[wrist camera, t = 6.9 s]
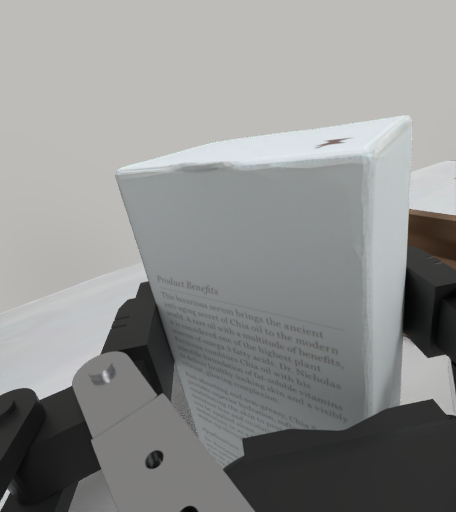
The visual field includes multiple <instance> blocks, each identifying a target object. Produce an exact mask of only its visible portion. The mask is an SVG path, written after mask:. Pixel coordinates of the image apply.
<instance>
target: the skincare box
mask: <svg viewBox="0 0 456 512" xmlns="http://www.w3.org/2000/svg"><path fill="white" fill-rule="evenodd" d="M411 153H412V120H411V118H410V117H409V116H408V115H404V116H398V117H391V118H385V119H378V120H371V121H365V122H358V123H352V124H345V125H339V126H332V127H325V128H318V129H312V130H302V131H293V132H284V133H277V134H269V135H261V136H254V137H247V138H241V139H233V140H226V141H220V142H213V143H209V144H205V145H201V146H197V147H194V148H191V149H187V150H184V151H180V152H176V153H173V154H169V155H166V156H162V157H159V158H155V159H151V160H147V161H144V162H140V163H136V164H132V165H129V166H126V167H123V168H121V169H119V170H117V172H116V175H115V176H116V180H117V183H118V186H119V190H120V192H121V196H122V199H123V202H124V205H125V208H126V211H127V214H128V217H129V221H130V224H131V227H132V230H133V233H134V236H135V240H136V243H137V245H138V249H139V252H140V255H141V258H142V261H143V264H144V268H145V271H146V274H147V277H148V280H149V283H150V287H151V290H152V293H153V296H154V299H155V302H156V305H157V308H158V311H159V315H160V318H161V321H162V324H163V327H164V331H165V334H166V337H167V340H168V343H169V346H170V350H171V353H172V356H173V359H174V362H175V365H176V368H177V372H178V375H179V378H180V381H181V384H182V388H183V391H184V394H185V397H186V400H187V403H188V406H189V409H190V412H191V416H192V419H193V422H194V425H195V429H196V432H197V435H198V438H199V440H200V441H201V442H202V443H203V445H204V446H205V447H206V449H207V450H208V451H209V453H210V454H211V455H212V456H213V458H214V459H215V460H216V462H217V463H218V464H219V466H220V467H221V468H222V469H223V468H224V467H226V466H227V465H228V464H230V463H231V462H233V461H234V460H236V459H238V458H240V457H242V456H244V450H243V443H242V438H247V437H252V436H257V435H262V434H267V433H271V432H276V431H281V430H286V429H308V430H337V431H338V430H345V429H348V428H350V427H352V426H353V425H355V424H357V423H359V422H361V421H363V420H365V419H367V418H369V417H371V416H373V415H375V414H377V413H379V412H381V411H383V410H385V409H387V408H392V407H397V406H400V390H401V367H402V344H403V325H404V302H405V279H406V261H407V239H408V218H409V187H410V173H411Z"/></svg>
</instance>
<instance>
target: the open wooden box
mask: <svg viewBox="0 0 456 512" xmlns="http://www.w3.org/2000/svg"><path fill="white" fill-rule="evenodd" d="M407 245H409V246H412V247H416V248H419V249H422V250H423V251H425V252H427V253H428V254H430V255H432V257H435V258H437V259H438V260H440V261H441V262H442V263H445V264H447V265H449V266H450V267H452V268H454V269H455V270H456V216H455V215H448V214H441V213H434V212H426V211H419V210H412V209H409V218H408V239H407ZM403 335H404V336H406V335H405V334H404V333H403Z"/></svg>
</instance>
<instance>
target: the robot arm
mask: <svg viewBox="0 0 456 512" xmlns="http://www.w3.org/2000/svg"><path fill="white" fill-rule="evenodd" d="M111 328H112V329H110V332H109V334H108V337H107V339H106V342H105V344H104V347H103V349H102V352H101V354H100V355H99V356H97V357H95V358H93V359H91V360H90V361H88V362H87V363H85V364H84V365H83V366H82V367H81V368H80V369H79V370H78V371H77V373H76V374H75V376H74V378H73V381H72V386H71V387H69V388H67V389H65V390H62V391H60V392H58V393H55V394H53V395H51V396H48V397H46V398H44V399H41V400H39V399H38V397H37V395H36V393H35V392H34V391H33V390H31V389H28V388H21V389H16V390H12V391H10V392H7V393H5V394H3V395H1V396H0V501H1V499H2V497H3V495H4V493H5V492H6V490H7V489H8V490H9V491H10V494H9V496H8V498H7V500H6V502H5V504H4V506H3V508H2V509H1V511H0V512H68V510H69V507H70V504H71V501H72V499H73V496H74V493H75V490H76V487H77V484H78V481H80V480H81V479H83V478H85V477H87V476H89V475H91V474H93V473H95V472H97V471H98V470H100V469H102V472H103V474H104V477H105V479H106V482H107V485H108V487H109V490H110V492H111V495H112V498H113V500H114V503H115V505H116V508H117V511H118V512H456V270H455V269H454V268H452V267H450V266H449V265H447V264H445V263H442V262H441V261H440V260H438V259H437V258H435V257H432V255H430V254H428V253H427V252H425V251H423V250H422V249H419V248H416V247H412V246H409V245H407V261H406V279H405V302H404V325H403V333H404V334H405V335H406V336H407V337H408V338H409V339H410V340H411V341H412V342H413V343H414V344H415V345H416V346H417V347H418V348H419V349H420V350H421V351H422V352H423V353H424V354H425V355H426V357H427V358H430V357H435V356H440V355H445V354H446V355H447V356H448V357H449V363H448V373H449V380H450V387H451V395H452V402H453V409H454V415H446V414H445V413H444V412H443V411H442V409H441V408H440V407H439V406H438V405H437V404H436V402H435V401H434V400H433V399H430V400H426V401H421V402H416V403H411V404H406V405H401V406H397V407H392V408H387V409H385V410H383V411H381V412H379V413H377V414H375V415H373V416H371V417H369V418H367V419H365V420H363V421H361V422H359V423H357V424H355V425H353V426H352V427H350V428H348V429H345V430H338V431H337V430H308V429H286V430H281V431H276V432H271V433H267V434H262V435H257V436H252V437H247V438H242V443H243V450H244V456H242V457H240V458H238V459H236V460H234V461H233V462H231V463H230V464H228V465H227V466H226V467H224V468H223V469H222V468H221V467H220V466H219V464H218V463H217V462H216V460H215V459H214V458H213V456H212V455H211V454H210V453H209V451H208V450H207V449H206V447H205V446H204V445H203V443H202V442H201V441H200V440H199V438H198V437H197V436H196V434H195V433H194V432H193V431H192V429H191V428H190V427H189V425H188V424H187V423H186V421H185V420H184V419H183V418H182V416H181V415H180V414H179V412H178V411H177V410H176V408H175V407H174V406H173V405H172V403H171V393H172V382H173V371H174V359H173V356H172V353H171V350H170V346H169V343H168V340H167V337H166V334H165V331H164V327H163V324H162V321H161V318H160V315H159V311H158V308H157V305H156V302H155V299H154V296H153V293H152V290H151V287H150V283H149V281H148V282H143V283H141V284H140V286H139V289H138V292H137V295H136V298H134V299H129V300H127V301H126V302H125V303H124V304H123V305H122V306H121V307H120V308H119V310H118V312H117V315H116V317H115V321H114V322H113V325H112V327H111Z"/></svg>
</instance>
